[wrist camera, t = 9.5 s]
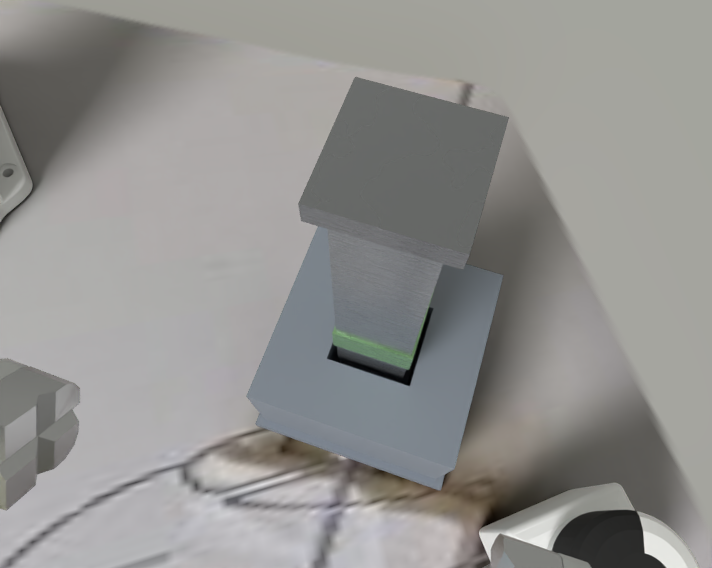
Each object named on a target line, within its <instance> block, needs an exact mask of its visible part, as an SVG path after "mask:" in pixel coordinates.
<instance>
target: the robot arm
mask: <svg viewBox="0 0 712 568" xmlns="http://www.w3.org/2000/svg"><path fill="white" fill-rule="evenodd" d="M11 174H12V175H11ZM10 175H11V176H10ZM9 176H10V177H9ZM32 186H33V184H32V180H31V178H30V175H29V173H28V170H27V168H26V166H25V163H24V161H23V158H22V156H21V154H20V151H19V149H18V146H17V144H16V142H15V139H14V137H13V134H12V132H11V129H10V127H9V125H8V122H7V120H6V117H5V115H4V113H3V110H2V108H1V105H0V222H1V221H2V219H3V218H4V217H5V215H6V214H7V213H8V212H10V211H11V210H12V209H13V208H15V207H16V206H17V205H18V204H19V203H21V202H22V201H23V200H24V199H25V198H26V197H27V196H28V195H29V193H30V192H31V190H32ZM79 403H80V388H79V387H78V386H77V385H76V384H74V383H72V382H70V381H67V380H65V379H62V378H59V377H57V376H54V375H51V374H49V373H46V372H44V371H41V370H38V369H36V368H33V367H28V366H26V365H24V364H21V363H18V362H16V361H13V360H11V359H8V358H7V359H0V509H3V510H8V509H9V508H10V507H11V506H12V505H13V504H14V503H16V502H17V501H18V500H19V499H20V498H21V497H22V496H24V495H25V494H26V493H27V492H28V491H29V490H31V489H32V488H33V487H34V486H35V485H36V479H37V474H40V473H43V472H46V471H49V470H52V469H54V468H56V467H57V466H58V465H59V464H60V463H61V462H62V461H63V460H64V459H65V458H66V457H67V455H68V454H69V452H70V451H71V449H72V447H73V446H74V444H75V441H76V438H77V435H78V428H79V421H78V419H77V417H76V416H75V414H74V412H73V410H72V409H73V408H74V407H75V406H77V405H78V404H79ZM483 568H592V567H591V566H590V565H589V563H588V562H585V561H582V560H579V559H576V558H573V557H570V556H567V555H564V554H561V553H556V552H553V551H550V550H547V549H544V548H542V547H539V546H536V545H533V544H530V543H527V542H524V541H521V540H518V539H515V538H512V537H510V536H507V535H504V534H501V533H500V534H499V535H498V536H497V537H496V539H495V541H494V543H493V545H492V547H491V564H489V565H487V566H485V567H483Z"/></svg>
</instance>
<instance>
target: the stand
mask: <svg viewBox="0 0 712 568" xmlns="http://www.w3.org/2000/svg"><path fill="white" fill-rule="evenodd" d="M502 279H503V275H501V274H498V273H494V272H491V271H488V270H485V269H481V268H478V267H475V266H471V265H468V264H465V267H464V269H463V270H462V269H458V268H455V267H452V266H448V265H445V264H443V265H442V268H441V271H440V274H439V277H438V280H437V283H436V286H435V289H434V292H433V295H432V299H431V302H430V305H429V308H428V312H427V315H426V318H425V322H424V325H423V328H422V331H421V335H420V338H419V341H418V344H417V348H416V351H415V354H414V357H413V361H412V363H411V366H410V369H409V370H408V369H406V371H405V374H404V377H403V379H401V378H398V377H395V376H392V375H389V374H386V373H383V372H380V371H377V370H374V369H371V368H368V367H365V366H362V365H359V364H356V363H353V362H350V361H346V360H343V359H340V358H338V351H337V346H335V345H333V337H332V332H333V330H334V327H335V315H334V303H333V290H332V278H331V266H330V254H329V242H328V230H327V229H326V228H323V227H319V226H318V228H317V230H316V232H315V235H314V237H313V240H312V242H311V244H310V247H309V249H308V251H307V254H306V256H305V259H304V261H303V263H302V266H301V268H300V270H299V273H298V275H297V277H296V280H295V282H294V285H293V287H292V289H291V292H290V294H289V296H288V299H287V301H286V304H285V306H284V308H283V311H282V313H281V315H280V318H279V320H278V323H277V325H276V327H275V330H274V332H273V334H272V337H271V339H270V342H269V344H268V346H267V349H266V351H265V353H264V356H263V358H262V361H261V363H260V365H259V368H258V370H257V372H256V375H255V377H254V380H253V382H252V384H251V387H250V389H249V391H248V394H247V396H246V397H247V398H248V399H249V400H250V402H251V403H252V404H253V405H254V406H255V408H256V409H257V410H258V411H259V412H260V414H259V416H258V419H257V421H256V425H257V426H259V427H262V428H265V429H268V430H270V431H273V432H276V433H279V434H282V435H285V436H287V437H290V438H293V439H296V440H299V441H301V442H304V443H307V444H310V445H313V446H315V447H318V448H321V449H324V450H327V451H330V452H332V453H335V454H338V455H341V456H344V457H346V458H349V459H352V460H355V461H358V462H360V463H363V464H366V465H369V466H372V467H375V468H377V469H380V470H383V471H386V472H389V473H391V474H394V475H397V476H400V477H403V478H405V479H408V480H411V481H414V482H417V483H420V484H422V485H425V486H428V487H431V488H434V489H436V490H441V487H442V483H443V479H444V476H445V474H446V473H448V472H450V471H452V470H454V469H455V465H456V461H457V457H458V453H459V449H460V445H461V441H462V437H463V433H464V429H465V425H466V421H467V417H468V413H469V410H470V406H471V402H472V398H473V394H474V390H475V386H476V382H477V378H478V374H479V370H480V366H481V362H482V358H483V354H484V350H485V346H486V342H487V339H488V335H489V331H490V327H491V323H492V319H493V315H494V311H495V307H496V303H497V299H498V295H499V291H500V287H501V283H502Z"/></svg>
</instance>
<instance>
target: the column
mask: <svg viewBox="0 0 712 568" xmlns="http://www.w3.org/2000/svg"><path fill="white" fill-rule="evenodd" d="M508 119H509V117H505V116H501V115H498V114H494V113H490V112H486V111H483V110H479V109H475V108H471V107H467V106H464V105H460V104H456V103H452V102H449V101H445V100H441V99H437V98H433V97H430V96H426V95H422V94H418V93H414V92H411V91H407V90H403V89H399V88H396V87H392V86H388V85H384V84H380V83H377V82H373V81H369V80H365V79H361V78H358V77H355V78H354V80H353V83H352V85H351V87H350V89H349V92H348V94H347V96H346V98H345V100H344V103H343V105H342V107H341V109H340V112H339V114H338V116H337V118H336V121H335V123H334V125H333V127H332V130H331V132H330V134H329V136H328V139H327V141H326V143H325V145H324V147H323V150H322V152H321V154H320V156H319V159H318V161H317V163H316V165H315V168H314V170H313V172H312V174H311V177H310V179H309V181H308V183H307V186H306V188H305V190H304V192H303V195H302V197H301V199H300V201H299V203H298V205H299V211H300V217H301V221H303V222H306V223H310V224H313V225H316V226H319V227H323V228H326V229H327V230H328V242H329V254H330V266H331V278H332V290H333V303H334V315H335V327H334V330H333V332H332V337H333V345H335V346H337V351H338V358H340V359H343V360H346V361H350V362H353V363H356V364H359V365H362V366H365V367H368V368H371V369H374V370H377V371H380V372H383V373H386V374H389V375H392V376H395V377H398V378H401V379H403V377H404V374H405V371H406V369H408V370H409V369H410V366H411V363H412V361H413V357H414V354H415V351H416V348H417V344H418V341H419V338H420V335H421V331H422V328H423V325H424V322H425V318H426V315H427V312H428V308H429V305H430V302H431V299H432V295H433V292H434V289H435V286H436V283H437V280H438V277H439V274H440V271H441V268H442V265H443V264H445V265H448V266H452V267H455V268H458V269H462V270H463V269H464V267H465V264H466V262H467V260H468V257H469V255H470V252H471V248H472V245H473V241H474V238H475V234H476V231H477V227H478V224H479V220H480V217H481V213H482V210H483V206H484V203H485V199H486V196H487V192H488V189H489V185H490V182H491V178H492V175H493V171H494V168H495V164H496V161H497V157H498V154H499V150H500V147H501V143H502V140H503V136H504V133H505V129H506V126H507V122H508Z"/></svg>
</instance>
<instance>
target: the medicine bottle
mask: <svg viewBox="0 0 712 568" xmlns="http://www.w3.org/2000/svg"><path fill="white" fill-rule="evenodd" d="M500 533H501V534H504V535H507V536H510V537H512V538H515V539H518V540H521V541H524V542H527V543H530V544H533V545H536V546H539V547H542V548H544V549H547V550H550V551H553V552H556V553H561V554H564V555H567V556H570V557H573V558H576V559H579V560H582V561H585V562H588V563H589V565H590V566H591V567H592V568H700V567H699V565H698V563H697V561H696V559H695V557H694V555H693V553H692V552H691V550H690V549H689V547H688V546H687V544H686V543H685V542H684V541H683V540H682V539H681V537H680V536H679V535H678V534H677V533H676V532H675V531H673V530H672V529H671V528H670V527H669V526H667V525H666V524H665V523H663V522H662V521H660V520H658V519H656V518H655V517H653V516H650V515H648V514H645V513H642V512H638V511H635V509H634V508H633V506H632V504H631V502H630V500H629V498H628V496H627V495H626V493H625V491H624V489H623V487H622V486H621V485H620V484H618V483H608V484H602V485H596V486H590V487H583V488H577V489H571V490H568V491H565V492H563V493H561V494H559V495H556V496H554V497H552V498H549V499H547V500H545V501H542V502H540V503H538V504H535V505H533V506H531V507H528V508H526V509H524V510H521V511H519V512H517V513H514V514H512V515H510V516H508V517H505V518H503V519H501V520H498V521H496V522H494V523H491V524H489V525H487V526H484V527H482V528H481V529H480V531H479V536H480V538H481V540H482V543H483V545H484V547H485V550H486V552H487V554H488V557H489V559H490V561H491V547H492V545H493V543H494V541H495V539H496V537H497V536H498V535H499V534H500Z"/></svg>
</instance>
